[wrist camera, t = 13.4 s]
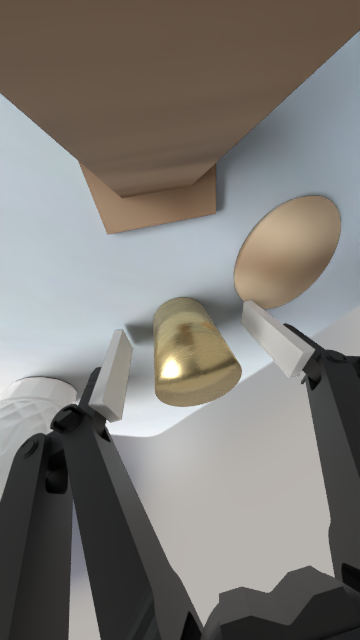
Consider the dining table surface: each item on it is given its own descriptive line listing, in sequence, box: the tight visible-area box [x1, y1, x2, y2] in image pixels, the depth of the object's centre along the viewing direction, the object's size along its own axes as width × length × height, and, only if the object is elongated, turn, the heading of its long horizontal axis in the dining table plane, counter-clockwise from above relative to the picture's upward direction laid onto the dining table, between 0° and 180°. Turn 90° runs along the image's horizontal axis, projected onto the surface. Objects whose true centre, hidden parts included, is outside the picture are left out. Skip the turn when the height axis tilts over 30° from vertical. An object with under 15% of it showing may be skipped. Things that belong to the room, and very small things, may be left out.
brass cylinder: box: [153, 297, 242, 407], centre depth 12 cm, size 6×6×7 cm
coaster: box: [234, 195, 341, 309], centre depth 12 cm, size 9×9×1 cm
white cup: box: [0, 377, 77, 501], centre depth 13 cm, size 8×8×10 cm
